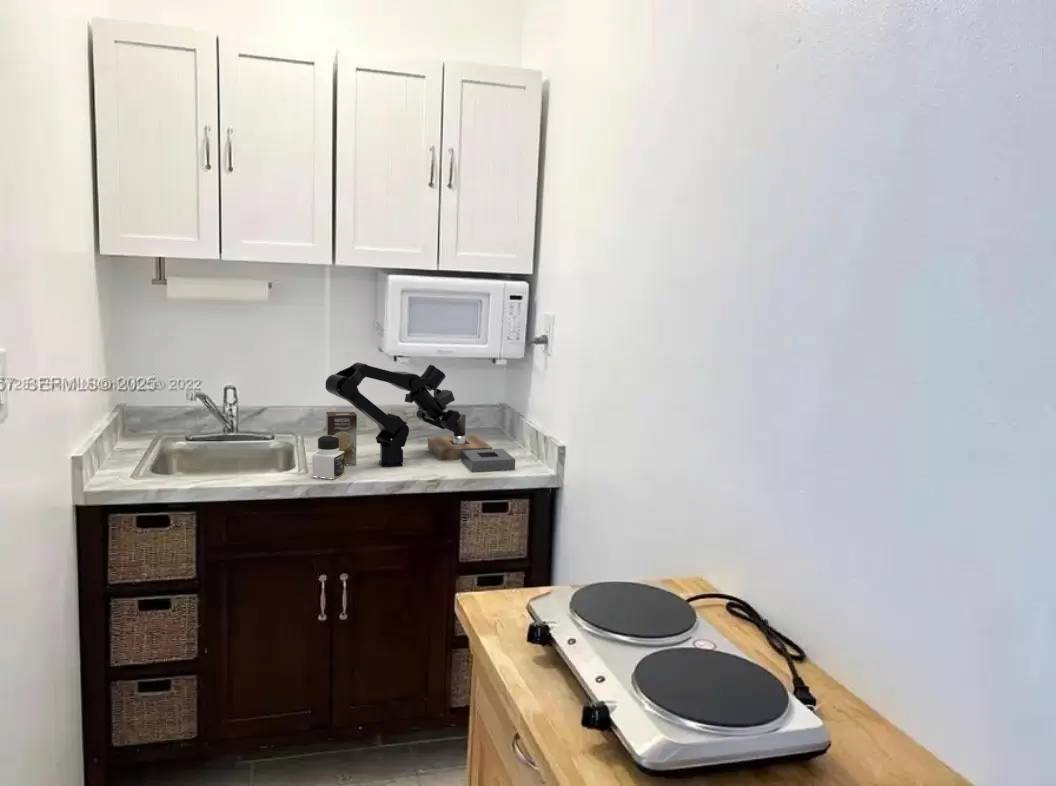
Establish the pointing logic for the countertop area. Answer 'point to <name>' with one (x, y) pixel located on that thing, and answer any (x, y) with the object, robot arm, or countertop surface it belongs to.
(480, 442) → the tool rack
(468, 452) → the socket block
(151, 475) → the countertop surface
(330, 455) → the medicine bottle
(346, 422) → the coffee box
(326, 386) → the robot arm
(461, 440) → the dark rounded cylinder
